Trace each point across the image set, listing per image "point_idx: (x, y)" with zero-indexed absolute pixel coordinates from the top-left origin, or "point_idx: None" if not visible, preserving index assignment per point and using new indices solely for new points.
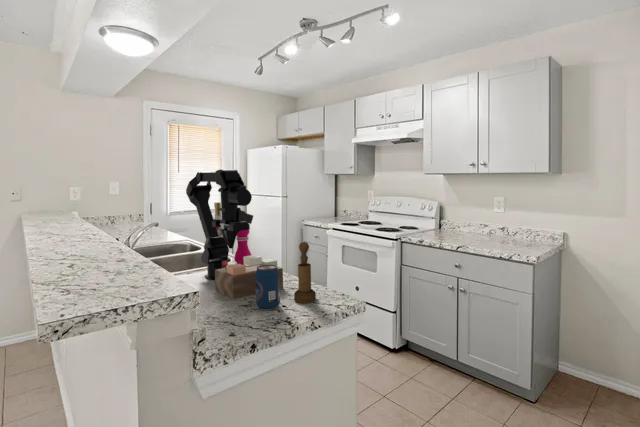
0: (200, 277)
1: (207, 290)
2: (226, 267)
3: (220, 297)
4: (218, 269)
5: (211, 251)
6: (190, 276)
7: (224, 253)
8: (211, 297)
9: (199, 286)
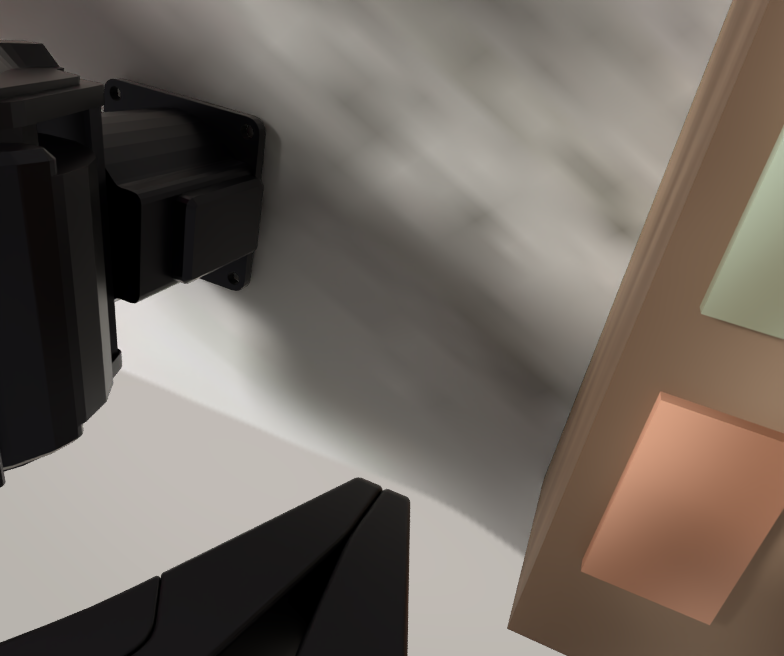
0: None
1: (491, 513)
2: (597, 559)
3: None
4: (537, 608)
5: (47, 453)
6: None
7: (85, 224)
8: None
9: (337, 455)
